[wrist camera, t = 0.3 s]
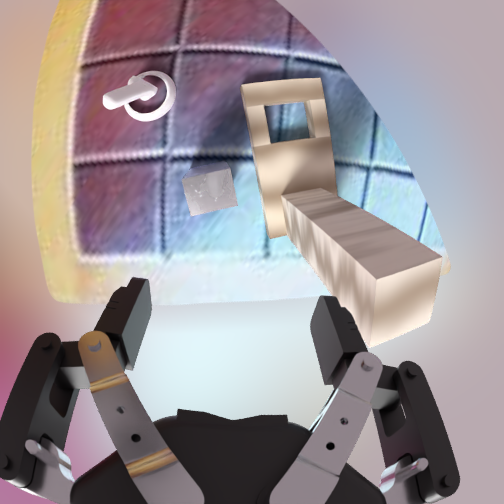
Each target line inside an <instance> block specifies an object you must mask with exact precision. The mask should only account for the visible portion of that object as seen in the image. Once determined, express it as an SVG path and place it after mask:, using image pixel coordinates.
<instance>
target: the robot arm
mask: <svg viewBox="0 0 504 504" xmlns="http://www.w3.org/2000/svg"><path fill="white" fill-rule="evenodd" d="M151 310H152V304H151V295H150V286H149V280H148V279H143V278H136V277H132V279H131V280H130V282H129V284H128V286H127V287H122V286H121V287H120V288H119V289H118V290H116V291H115V292H114V293H113V295H112V296H111V298H110V300H109V302H108V304H107V306H106V308H105V310H104V311H103V313H102V315H101V317H100V319H99V321H98V323H97V325H96V327H95V329H94V331H91V332H88V333H86V334H84V335H83V336H82V337H81V338H80V340H79V341H71V342H61V340H60V338H59V337H58V336H57V335H56V334H54V333H44V334H42V335H40V336H39V337H37V339H36V340H35V341H34V343H33V345H32V347H31V349H30V351H29V353H28V355H27V357H26V359H25V362H24V363H23V366H22V368H21V370H20V372H19V374H18V376H17V379H16V381H15V383H14V386H13V388H12V391H11V393H10V396H9V398H8V401H7V403H6V406H5V409H4V412H3V415H2V417H1V420H0V478H2V479H4V480H6V481H7V482H9V483H11V484H13V485H14V486H16V487H18V488H20V489H22V490H24V491H26V492H29V493H31V494H33V495H37V496H40V497H42V498H46V499H49V500H51V501H54V502H56V503H58V504H432V503H434V502H437V501H439V500H441V499H444V498H446V497H448V496H450V495H452V494H454V493H455V492H456V490H457V489H458V486H459V483H460V476H459V471H458V468H457V465H456V461H455V457H454V454H453V450H452V447H451V445H450V441H449V438H448V435H447V432H446V429H445V426H444V423H443V420H442V418H441V415H440V412H439V410H438V407H437V405H436V402H435V399H434V397H433V395H432V392H431V390H430V387H429V385H428V382H427V380H426V377H425V375H424V373H423V371H422V369H421V368H420V366H418V365H417V364H416V363H414V362H411V361H405V362H402V363H401V364H400V365H399V367H398V368H396V367H390V366H386V365H382V362H381V361H380V359H379V358H378V357H377V356H375V355H374V354H372V353H369V352H368V350H367V348H366V345H365V343H364V341H363V338H362V336H361V334H360V331H359V330H358V327H357V325H356V324H355V320H354V318H353V316H352V314H351V313H350V312H349V311H348V310H347V309H346V308H345V307H341V306H340V303H339V301H338V299H337V297H336V296H320V297H319V299H318V302H317V305H316V308H315V311H314V313H313V316H312V319H311V324H310V325H311V326H310V328H311V334H312V337H313V342H314V345H315V349H316V353H317V357H318V361H319V365H320V369H321V372H322V377H323V381H324V384H325V385H332V384H333V386H334V390H333V391H332V393H331V395H330V396H329V398H328V400H327V401H326V403H325V405H324V406H323V408H322V410H321V411H320V413H319V415H318V416H317V418H316V420H315V421H314V422H313V424H312V425H311V427H310V428H309V429H306V428H304V427H303V426H300V425H298V424H295V423H291V422H288V418H287V415H259V416H254V417H249V418H244V419H239V420H230V419H226V418H223V417H219V416H216V415H213V414H210V413H206V412H199V411H191V410H182V409H178V411H177V415H176V416H169V417H165V418H162V419H159V420H157V421H154V422H152V421H151V419H150V417H149V416H148V414H147V413H146V410H145V409H144V407H143V405H142V404H141V402H140V400H139V398H138V396H137V394H136V392H135V390H134V389H133V387H132V385H131V383H130V381H129V379H128V377H127V375H126V374H125V373H124V371H125V369H127V370H133V368H134V365H135V361H136V358H137V355H138V352H139V349H140V346H141V343H142V340H143V337H144V334H145V331H146V328H147V325H148V322H149V319H150V316H151ZM87 388H88V389H89V388H90V390H91V393H92V396H93V398H94V401H95V403H96V406H97V408H98V410H99V413H100V415H101V418H102V420H103V422H104V424H105V426H106V429H107V430H108V433H109V435H110V437H111V439H112V441H113V443H114V445H115V447H116V449H117V450H116V451H115V452H113V453H112V454H111V455H110V456H108V457H107V458H105V459H104V460H102V461H101V462H100V463H98V464H97V465H96V466H94V467H93V468H92V469H90V470H89V471H87V472H86V473H84V474H83V475H81V476H80V477H79V478H78V479H77V480H76V481H75V480H74V478H73V476H72V473H71V462H70V459H69V457H68V456H67V455H66V453H65V452H64V447H65V442H66V438H67V433H68V430H69V426H70V422H71V418H72V414H73V410H74V407H75V404H76V400H77V397H78V393H79V390H80V389H87ZM401 404H402V406H403V409H404V412H405V416H406V419H405V416H404V412H403V409H402V406H401ZM371 408H372V410H373V414H374V418H375V422H376V426H377V430H378V434H379V439H380V443H381V447H382V452H383V457H384V462H385V467H386V469H385V470H384V472H383V473H382V476H381V481H380V483H379V486H380V489H379V488H378V487H376V486H375V485H374V484H372V483H371V482H370V481H369V480H367V479H366V478H365V477H363V476H362V475H361V474H360V473H359V472H357V471H356V470H355V469H354V468H352V467H351V466H350V465H349V464H348V463H346V462H347V460H348V458H349V456H350V454H351V452H352V450H353V448H354V446H355V444H356V442H357V440H358V438H359V436H360V434H361V431H362V429H363V427H364V424H365V422H366V420H367V418H368V416H369V413H370V411H371Z"/></svg>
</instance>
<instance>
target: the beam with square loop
mask: <svg viewBox="0 0 504 504" xmlns="http://www.w3.org/2000/svg"><path fill="white" fill-rule="evenodd" d="M240 91H241V96H242V101H243V106H244V111H245V116H246V121H247V126H248V132H249V137H250V142H251V148H252V153H253V158H254V164H255V169H256V175H257V180H258V186H259V191H260V197H261V203H262V208H263V214H264V220H265V226H266V232H267V234H268V236H269V238H270V239H272V238H276V237H281V236H285V235H287V236H288V237H289V239H290V240H291V241H292V243H293V244H294V245H295V246H296V248H297V249H298V250H299V252H300V253H301V254H302V256H303V257H304V258H305V260H306V261H307V262H308V264H309V265H310V266H311V268H312V269H313V270H314V272H315V273H316V274H317V276H318V277H319V278H320V280H321V281H322V282H323V284H324V285H325V286H326V288H327V289H328V291H329V292H330V293H331V295H332V296H336V297H337V299H338V301H339V303H340V306H341V307H345V308H346V309H347V310H348V311H349V312H350V313H351V314H352V316H353V318H354V320H355V324H356V325H357V327H358V330H359V331H360V334H361V336H362V338H363V340H364V341H365V343H366V344H367V345H368V347H369V348H371V347H373V346H376V345H378V344H381V343H383V342H386V341H388V340H390V339H393V338H396V337H398V336H400V335H402V334H405V333H407V332H409V331H411V330H413V329H416V328H418V327H420V326H422V325H424V324H426V323H428V322H429V321H430V318H431V314H432V309H433V305H434V301H435V296H436V291H437V286H438V282H439V276H440V270H441V264H442V258H443V257H442V256H441V255H439V254H437V253H436V252H434V251H433V250H431V249H430V248H428V247H427V246H425V245H423V244H422V243H420V242H419V241H417V240H415V239H414V238H412V237H410V236H409V235H407V234H405V233H404V232H402V231H400V230H399V229H397V228H395V227H394V226H392V225H390V224H388V223H387V222H385V221H383V220H381V219H380V218H378V217H376V216H374V215H372V214H371V213H369V212H367V211H365V210H363V209H361V208H359V207H358V206H356V205H354V204H352V203H350V202H348V201H346V200H344V199H342V198H340V197H338V196H337V185H336V176H335V166H334V158H333V150H332V142H331V135H330V128H329V122H328V116H327V110H326V104H325V98H324V93H323V88H322V83H321V78H304V79H288V80H276V81H267V82H258V83H250V84H243V85H242V86H241V87H240ZM299 102H304V106H305V111H306V117H307V123H308V129H309V135H310V138H303V139H296V140H288V141H281V142H275V143H270V137H269V132H268V126H267V121H266V116H265V110H264V106H271V105H279V104H288V103H299Z"/></svg>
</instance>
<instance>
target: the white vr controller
mask: <svg viewBox="0 0 504 504" xmlns="http://www.w3.org/2000/svg"><path fill="white" fill-rule="evenodd" d="M147 75H155V76H158V77H160V78H161V79H162V80H163V81H164V82H165V84H166V86H167V96H166V99H165V101H164V103H163V104H162V105H161V106H160V107H159V108H158V109H157V110H155V111H153V112H150V113H138V112H136V111H134V110H133V109H132V108H131V107H130V105H129V102H131V101H134V100H136V99H139V98H140V99H142V100H145V101H146V100H148V99H150V98H151V97H153V96H154V95H155V94H156V92H157V90H158V88H157V87H155V86H154V85H152V84H150V83H149V82H146V81H144V80H143V79H142V78H145V76H147ZM175 97H176V87H175V84H174V82H173V80H172V79H171V78H170V77H169V76H168V75H167V74H165V73H163V72H160V71H148V72H144V73H141V74H139V75H138V76H132V77H131V78H130V79H129V82H128V85H127V86H124V87H121V88H118V89H116V90H113V91H111V92H108V93H106V94H105V95H104V96H103V104H104V106H105V107H106V108H107V109H115V108H117V107H120V106H122V105H124V106H125V109H126V111H127V112H128V114H129V115H130V116H132V117H133V118H134V119H137V120H140V121H152V120H155V119H158V118H160V117H162V116H163V115H164V114H166V113H167V112H168V111H169V109H170V108H171V107H172V105H173V103H174V101H175Z"/></svg>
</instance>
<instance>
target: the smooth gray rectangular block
mask: <svg viewBox="0 0 504 504" xmlns="http://www.w3.org/2000/svg"><path fill="white" fill-rule="evenodd" d="M182 183H183V187H184V191H185V195H186V199H187V203H188V207H189V211H190V215H191V216H195V215H199V214H203V213H207V212H212V211H216V210H220V209H225V208H229V207H234V206H238V204H237V199H236V194H235V189H234V184H233V179H232V174H231V169H230V167H229V166H228V164H227V163H226V162H225V161H220V162H216V163H211V164H207V165H203V166H198V167H194V168H190V169H189V170H188V172H187V173H186V174H185V176H184V177H183V179H182Z"/></svg>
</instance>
